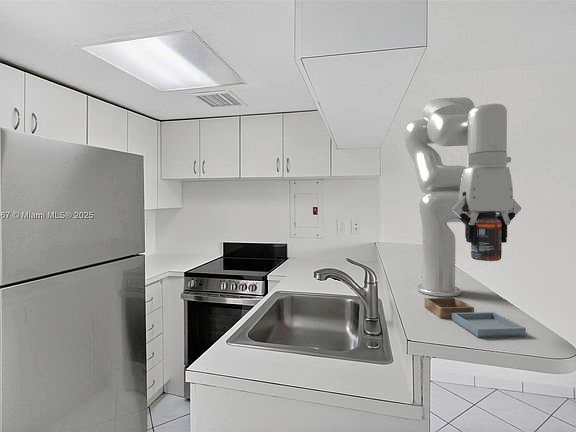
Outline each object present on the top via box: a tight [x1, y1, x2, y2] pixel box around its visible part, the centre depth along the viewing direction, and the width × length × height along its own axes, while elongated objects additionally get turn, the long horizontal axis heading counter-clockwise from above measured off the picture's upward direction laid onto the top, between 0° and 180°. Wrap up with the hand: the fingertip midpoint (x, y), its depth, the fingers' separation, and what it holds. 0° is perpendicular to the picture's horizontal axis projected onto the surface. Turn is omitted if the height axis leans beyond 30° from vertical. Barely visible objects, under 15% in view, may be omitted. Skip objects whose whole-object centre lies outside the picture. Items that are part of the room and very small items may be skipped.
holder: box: [423, 296, 475, 319], centre depth 86 cm, size 9×9×2 cm
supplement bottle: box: [470, 211, 503, 262], centre depth 75 cm, size 6×6×11 cm
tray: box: [451, 311, 527, 339], centre depth 75 cm, size 10×10×2 cm
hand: (486, 241), depth 75 cm, fingers closed on supplement bottle, 6 cm apart
